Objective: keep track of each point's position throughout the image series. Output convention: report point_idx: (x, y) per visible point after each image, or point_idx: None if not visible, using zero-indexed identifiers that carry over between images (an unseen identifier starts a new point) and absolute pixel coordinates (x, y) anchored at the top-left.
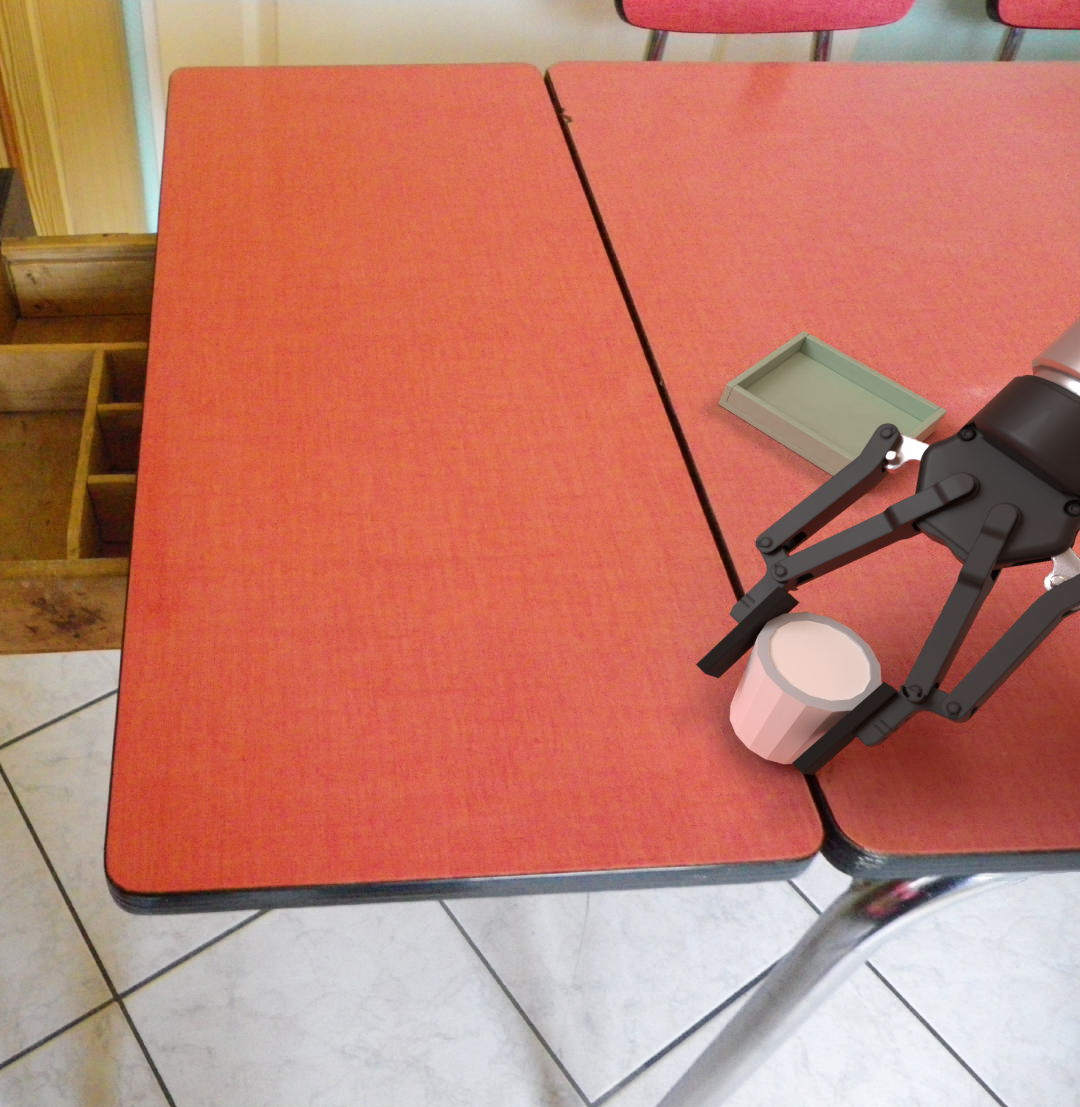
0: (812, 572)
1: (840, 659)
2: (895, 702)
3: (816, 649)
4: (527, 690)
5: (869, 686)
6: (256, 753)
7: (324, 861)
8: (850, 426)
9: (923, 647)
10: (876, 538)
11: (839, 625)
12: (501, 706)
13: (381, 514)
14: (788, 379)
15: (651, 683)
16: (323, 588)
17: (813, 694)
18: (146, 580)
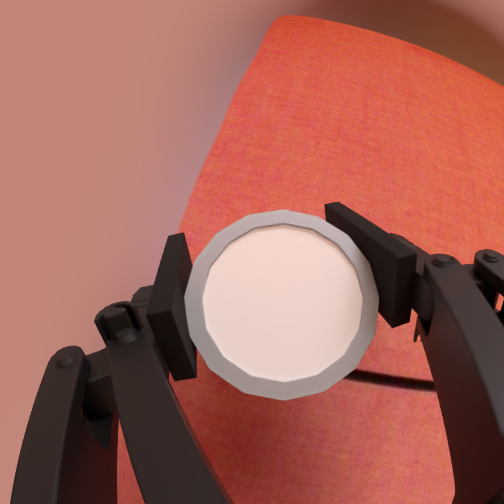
0: (434, 312)
1: (274, 334)
2: (146, 326)
3: (303, 307)
4: (361, 155)
5: (210, 343)
6: (332, 45)
7: (267, 48)
8: None
9: (165, 383)
10: (489, 399)
11: (336, 372)
12: (349, 135)
13: (493, 145)
14: None
15: None
16: (437, 96)
17: (229, 252)
18: (430, 51)
